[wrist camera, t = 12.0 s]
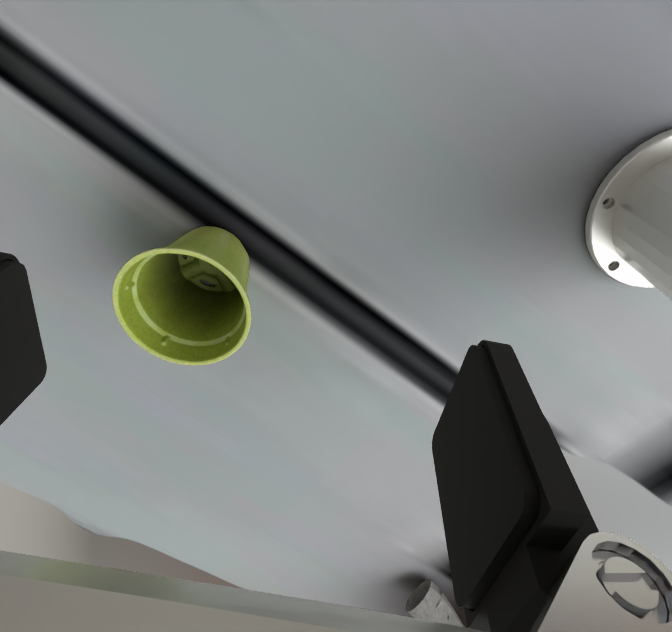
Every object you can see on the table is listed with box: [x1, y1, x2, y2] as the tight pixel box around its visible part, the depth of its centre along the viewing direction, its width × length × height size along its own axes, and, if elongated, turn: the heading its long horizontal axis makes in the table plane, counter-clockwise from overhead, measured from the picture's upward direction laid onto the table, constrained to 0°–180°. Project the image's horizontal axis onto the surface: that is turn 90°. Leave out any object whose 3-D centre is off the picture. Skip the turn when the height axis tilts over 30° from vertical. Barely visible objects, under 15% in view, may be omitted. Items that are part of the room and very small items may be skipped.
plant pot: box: [112, 226, 251, 365], centre depth 35 cm, size 9×9×9 cm
